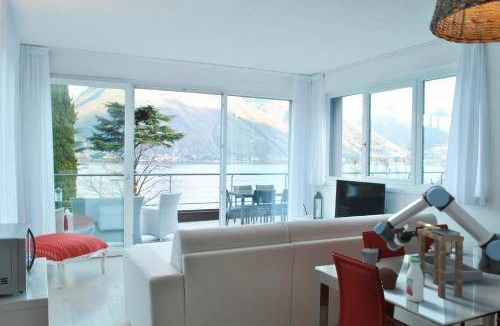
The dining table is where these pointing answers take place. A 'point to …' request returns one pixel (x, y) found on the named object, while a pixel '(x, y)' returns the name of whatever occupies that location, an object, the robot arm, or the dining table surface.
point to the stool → (442, 260)
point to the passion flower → (433, 250)
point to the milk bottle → (415, 281)
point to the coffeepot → (371, 255)
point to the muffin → (388, 278)
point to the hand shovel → (439, 230)
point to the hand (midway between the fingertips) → (419, 226)
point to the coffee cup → (448, 246)
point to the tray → (453, 270)
